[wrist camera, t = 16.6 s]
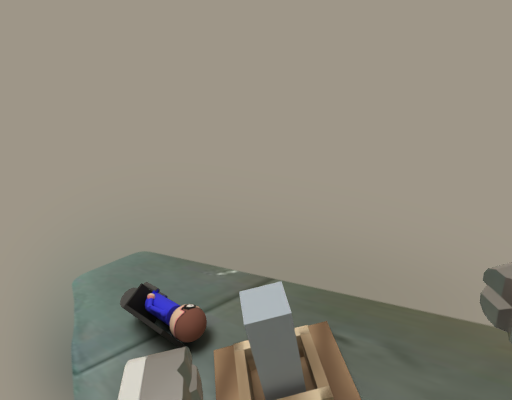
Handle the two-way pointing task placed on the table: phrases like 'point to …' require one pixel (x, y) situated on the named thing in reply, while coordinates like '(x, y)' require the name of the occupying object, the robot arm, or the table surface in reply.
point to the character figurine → (165, 313)
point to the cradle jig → (312, 361)
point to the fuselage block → (273, 340)
